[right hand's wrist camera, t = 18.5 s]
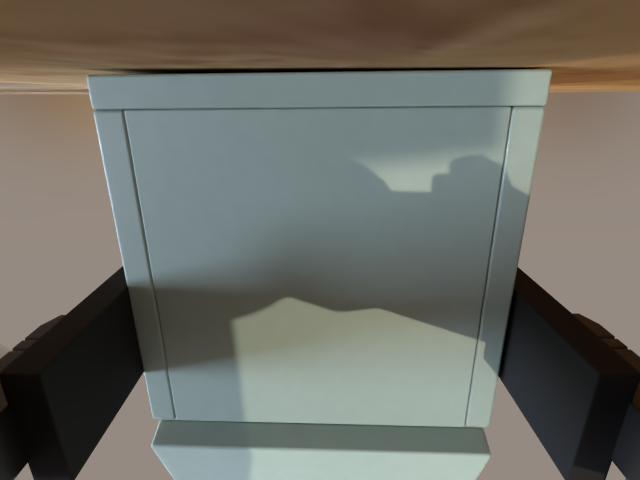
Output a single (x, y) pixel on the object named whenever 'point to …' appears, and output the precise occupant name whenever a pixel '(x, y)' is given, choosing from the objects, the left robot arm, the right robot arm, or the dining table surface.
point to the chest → (321, 238)
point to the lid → (318, 451)
